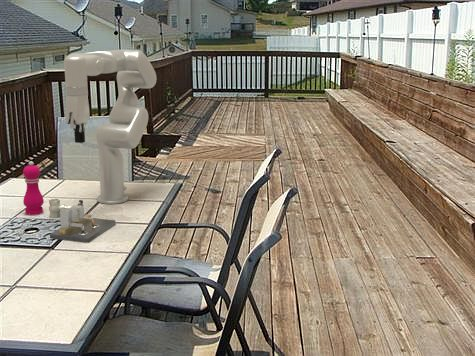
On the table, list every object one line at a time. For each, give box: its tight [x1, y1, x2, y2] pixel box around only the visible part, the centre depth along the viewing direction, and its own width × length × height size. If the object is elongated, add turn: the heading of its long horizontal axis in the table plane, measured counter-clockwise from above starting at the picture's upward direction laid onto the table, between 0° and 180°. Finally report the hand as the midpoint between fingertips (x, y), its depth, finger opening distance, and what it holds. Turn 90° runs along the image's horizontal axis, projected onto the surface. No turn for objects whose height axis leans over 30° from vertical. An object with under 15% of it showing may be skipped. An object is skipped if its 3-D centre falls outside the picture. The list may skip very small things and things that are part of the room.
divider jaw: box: [70, 204, 94, 226], centre depth 200 cm, size 3×8×6 cm, turn 76°
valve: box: [48, 198, 85, 219], centre depth 214 cm, size 7×7×12 cm
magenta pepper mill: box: [22, 160, 45, 216], centre depth 216 cm, size 7×7×20 cm
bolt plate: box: [49, 209, 116, 244], centre depth 199 cm, size 20×14×9 cm
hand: (80, 142), depth 210 cm, fingers closed
